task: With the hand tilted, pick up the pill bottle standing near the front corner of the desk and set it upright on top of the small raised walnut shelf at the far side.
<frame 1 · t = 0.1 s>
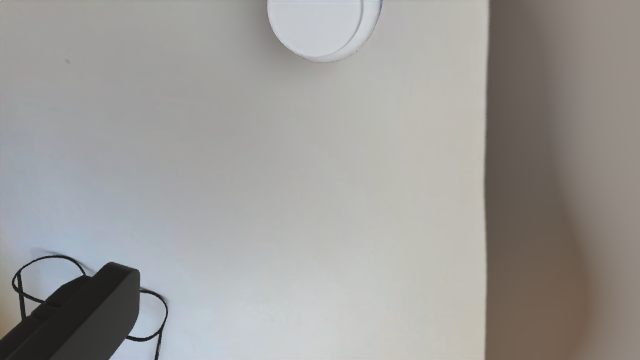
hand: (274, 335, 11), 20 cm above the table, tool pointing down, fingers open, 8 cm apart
pill bottle: (340, 0, 26), on the table
glasses: (105, 324, 43), on the table
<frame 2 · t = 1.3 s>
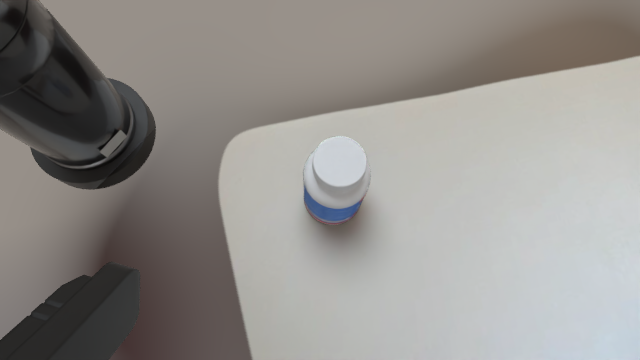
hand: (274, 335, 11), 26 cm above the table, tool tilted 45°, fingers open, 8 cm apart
pill bottle: (332, 197, 39), on the table
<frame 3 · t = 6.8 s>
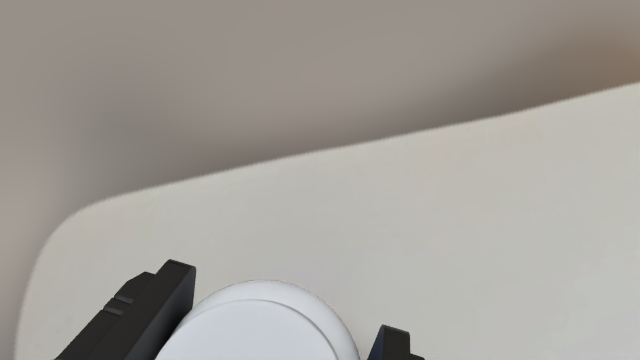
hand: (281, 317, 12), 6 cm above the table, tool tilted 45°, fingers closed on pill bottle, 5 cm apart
pill bottle: (277, 359, 17), on the table, touching gripper
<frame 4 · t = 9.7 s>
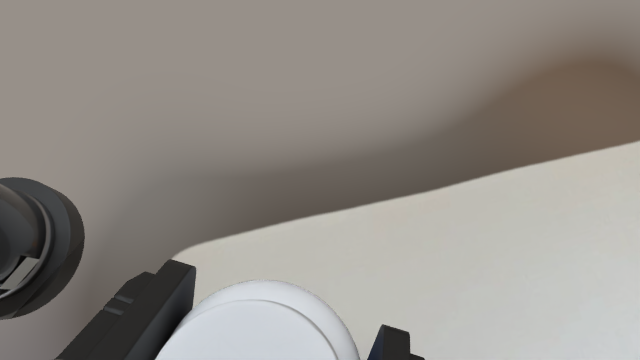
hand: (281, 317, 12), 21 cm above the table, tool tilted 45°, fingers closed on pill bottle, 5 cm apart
pill bottle: (277, 359, 17), point 14 cm above the table, touching gripper
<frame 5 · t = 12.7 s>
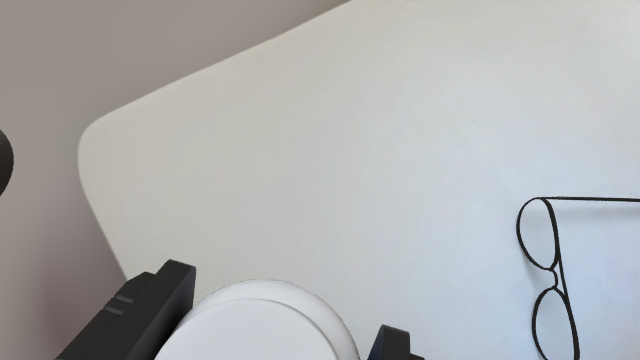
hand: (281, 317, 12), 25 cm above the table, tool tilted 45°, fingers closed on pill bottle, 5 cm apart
pill bottle: (277, 359, 17), point 19 cm above the table, touching gripper
glasses: (603, 280, 37), on the table
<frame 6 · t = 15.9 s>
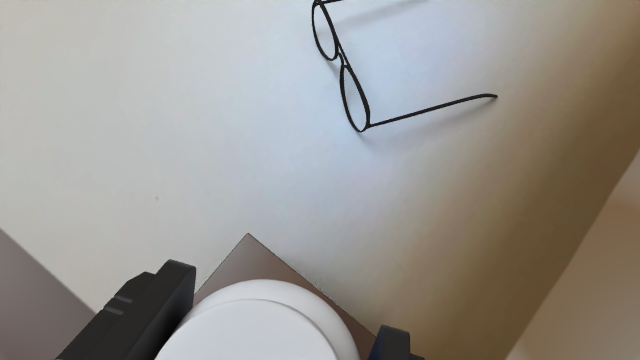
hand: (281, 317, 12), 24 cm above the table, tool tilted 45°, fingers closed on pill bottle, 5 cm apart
walnut shelf: (295, 334, 34), on the table
pill bottle: (278, 359, 17), point 17 cm above the table, touching gripper
glasses: (400, 61, 42), on the table
when the fingers open (15 cm above the table, at t = 18.7 s): pill bottle stays where it is, resting on walnut shelf.
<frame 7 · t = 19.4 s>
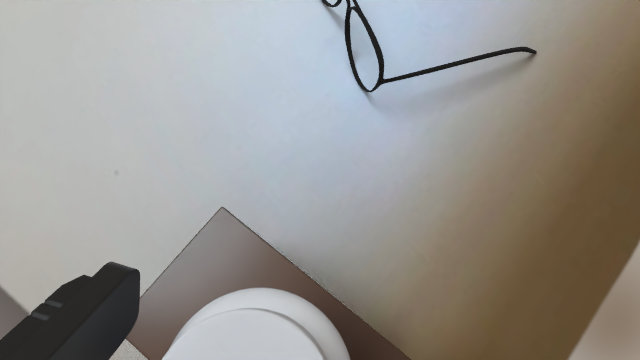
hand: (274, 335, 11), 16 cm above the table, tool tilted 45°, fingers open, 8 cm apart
walnut shelf: (288, 343, 26), on the table
glasses: (417, 12, 35), on the table
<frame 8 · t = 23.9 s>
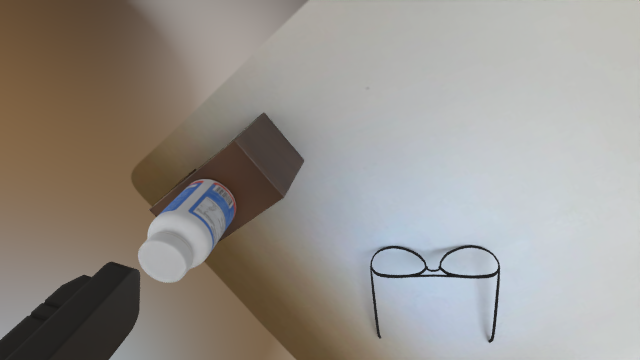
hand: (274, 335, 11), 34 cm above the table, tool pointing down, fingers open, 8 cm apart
walnut shelf: (244, 167, 48), on the table
pill bottle: (212, 201, 40), point 9 cm above the table, touching walnut shelf
glasses: (432, 294, 51), on the table
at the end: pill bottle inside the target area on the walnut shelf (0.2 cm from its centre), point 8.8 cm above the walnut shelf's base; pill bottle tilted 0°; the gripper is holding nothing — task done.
